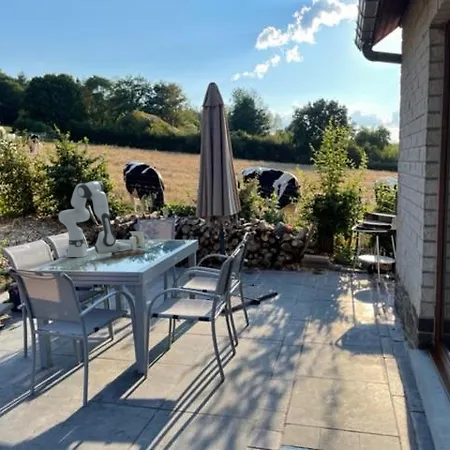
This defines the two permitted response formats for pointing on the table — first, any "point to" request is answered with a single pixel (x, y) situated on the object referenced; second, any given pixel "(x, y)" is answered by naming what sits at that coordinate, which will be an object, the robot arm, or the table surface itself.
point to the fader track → (128, 253)
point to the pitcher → (139, 238)
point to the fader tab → (133, 243)
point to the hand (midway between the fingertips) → (131, 244)
